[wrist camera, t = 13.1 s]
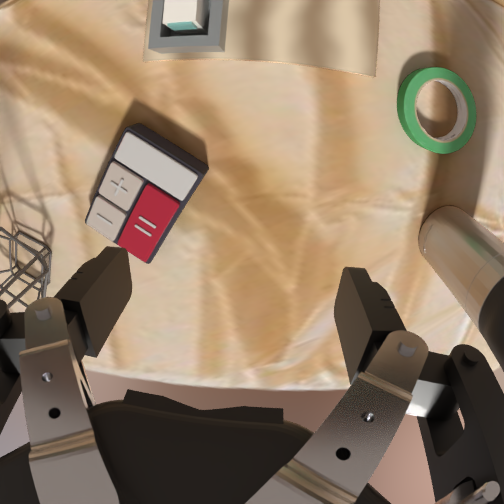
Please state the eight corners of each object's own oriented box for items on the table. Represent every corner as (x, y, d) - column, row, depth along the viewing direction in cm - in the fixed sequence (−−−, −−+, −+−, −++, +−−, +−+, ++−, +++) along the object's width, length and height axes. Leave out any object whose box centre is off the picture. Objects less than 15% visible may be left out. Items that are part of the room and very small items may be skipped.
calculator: (80, 225, 38) (123, 126, 32) (95, 212, 42) (138, 121, 35) (147, 268, 41) (203, 176, 34) (157, 252, 44) (210, 166, 38)
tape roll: (396, 148, 35) (404, 152, 33) (393, 63, 30) (401, 61, 28) (464, 152, 35) (475, 156, 32) (464, 74, 30) (475, 74, 27)
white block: (210, -13, 26) (200, -31, 20) (206, 34, 28) (195, 23, 23) (182, -11, 26) (167, -28, 20) (178, 36, 28) (162, 25, 23)
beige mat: (377, -20, 25) (379, -23, 24) (372, 77, 31) (375, 77, 30) (156, -34, 25) (154, -37, 24) (145, 62, 32) (142, 61, 31)
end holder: (231, -25, 25) (227, -39, 21) (224, 52, 30) (219, 45, 26) (169, -22, 26) (157, -34, 22) (161, 53, 30) (148, 48, 26)
